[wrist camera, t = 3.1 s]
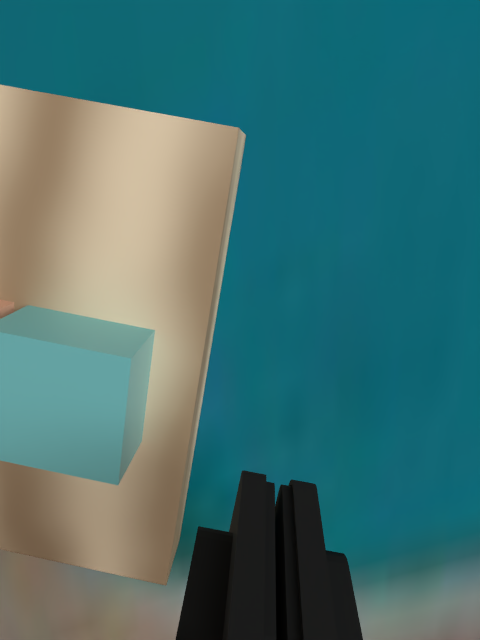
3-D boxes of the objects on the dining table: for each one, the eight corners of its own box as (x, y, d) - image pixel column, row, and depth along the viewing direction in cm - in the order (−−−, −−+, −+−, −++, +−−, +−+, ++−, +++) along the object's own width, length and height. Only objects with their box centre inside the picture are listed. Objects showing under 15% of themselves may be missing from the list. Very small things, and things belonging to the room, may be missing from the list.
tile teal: (155, 329, 15) (131, 358, 13) (141, 441, 17) (118, 485, 14) (28, 305, 15) (-19, 328, 13) (25, 417, 17) (-17, 456, 14)
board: (246, 135, 15) (238, 127, 13) (179, 539, 21) (166, 585, 19) (-87, 75, 16) (-152, 57, 13) (-63, 487, 22) (-106, 526, 19)
